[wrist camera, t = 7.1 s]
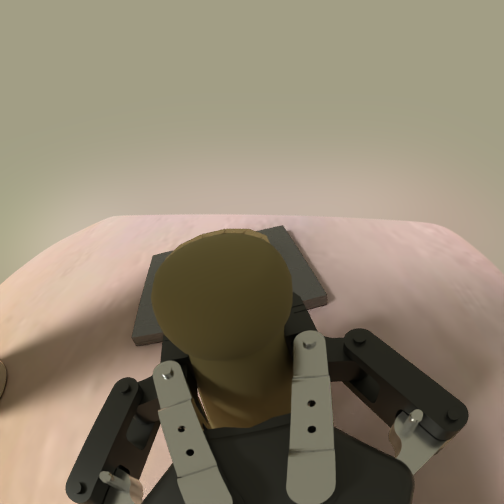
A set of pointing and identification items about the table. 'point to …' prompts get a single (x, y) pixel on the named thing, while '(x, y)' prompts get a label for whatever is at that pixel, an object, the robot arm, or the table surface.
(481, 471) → the table surface
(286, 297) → the cork
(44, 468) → the table surface
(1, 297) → the table surface
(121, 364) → the table surface
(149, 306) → the collar plate
